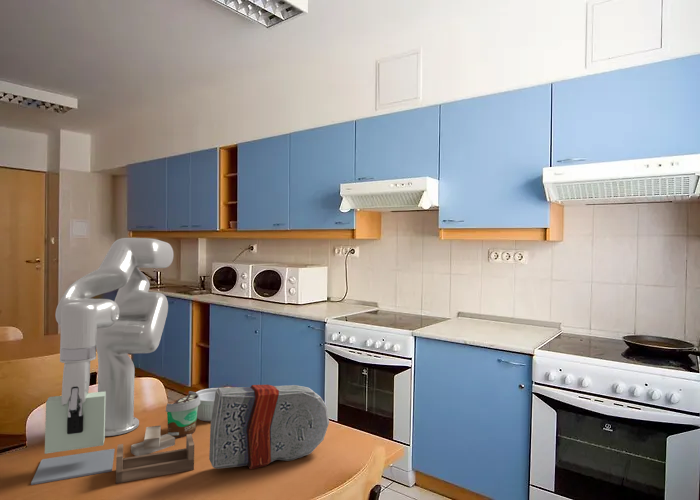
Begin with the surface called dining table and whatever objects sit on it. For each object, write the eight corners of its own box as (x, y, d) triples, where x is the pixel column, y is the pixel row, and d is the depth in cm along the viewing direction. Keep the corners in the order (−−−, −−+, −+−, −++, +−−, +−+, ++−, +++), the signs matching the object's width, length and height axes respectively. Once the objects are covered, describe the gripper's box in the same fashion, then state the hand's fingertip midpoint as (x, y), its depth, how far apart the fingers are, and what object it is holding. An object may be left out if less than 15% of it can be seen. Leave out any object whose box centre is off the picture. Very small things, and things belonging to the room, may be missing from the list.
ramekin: (197, 408, 150) (197, 387, 150) (237, 407, 152) (238, 387, 151) (187, 423, 137) (187, 401, 137) (231, 423, 138) (232, 400, 138)
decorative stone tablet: (219, 392, 105) (334, 388, 119) (214, 384, 111) (324, 381, 124) (210, 476, 104) (327, 462, 118) (205, 464, 110) (317, 452, 124)
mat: (41, 461, 111) (41, 459, 111) (114, 450, 118) (114, 448, 118) (31, 484, 100) (31, 482, 100) (112, 471, 107) (112, 469, 107)
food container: (185, 442, 124) (185, 406, 124) (165, 440, 125) (165, 404, 125) (207, 425, 136) (208, 392, 136) (189, 423, 137) (190, 390, 137)
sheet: (47, 446, 108) (49, 396, 108) (104, 439, 113) (105, 391, 113) (44, 453, 105) (45, 402, 105) (103, 445, 110) (104, 396, 110)
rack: (117, 469, 108) (117, 444, 108) (190, 457, 115) (191, 433, 115) (115, 483, 102) (116, 457, 102) (193, 469, 109) (194, 444, 109)
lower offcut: (130, 454, 117) (131, 445, 117) (167, 442, 125) (167, 433, 125) (138, 459, 114) (138, 449, 114) (174, 446, 122) (175, 437, 122)
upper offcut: (144, 449, 115) (144, 439, 115) (146, 436, 123) (146, 427, 123) (159, 447, 116) (159, 437, 116) (160, 434, 124) (160, 425, 124)
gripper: (65, 348, 115) (63, 419, 115) (54, 362, 100) (51, 445, 100) (98, 346, 118) (97, 415, 118) (92, 360, 103) (90, 440, 103)
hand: (76, 428), depth 109 cm, fingers closed on sheet, 4 cm apart
